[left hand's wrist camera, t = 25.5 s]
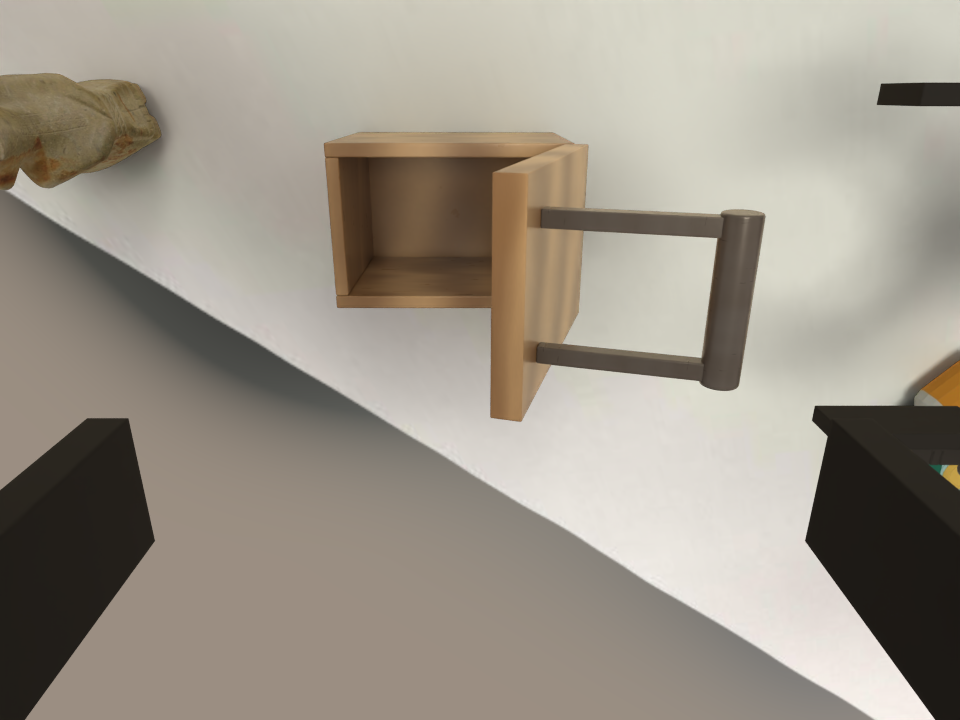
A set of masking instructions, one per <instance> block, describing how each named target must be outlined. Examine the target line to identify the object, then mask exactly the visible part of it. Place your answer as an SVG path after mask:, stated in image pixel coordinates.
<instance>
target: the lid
mask: <svg viewBox="0 0 960 720" xmlns="http://www.w3.org/2000/svg"><path fill="white" fill-rule="evenodd" d="M587 161H588V145H587V144H565V145H562V146H559V147H557V148H554V149H552V150H549V151H547V152H544V153H542V154H539V155H536V156H534V157H531V158H529V159H526V160H524V161H521V162H518V163H516V164H513V165H511V166H508V167H506V168H503V169H501V170H498V171H495V172H493V173H492V281H491V409H490V417H491V418H496V419H504V420H511V421H519V422H521V421H522V419H523V417H524V415H525V414H526V412H527V410H528V408H529V406H530V404H531V402H532V400H533V398H534V396H535V395H536V393H537V391H538V389H539V387H540V385H541V383H542V381H543V379H544V377H545V375H546V374H547V372H548V370H549V368H550V366H551V365H558V366H567V367H576V368H586V369H595V370H604V371H613V372H622V373H631V374H641V375H650V376H659V377H668V378H677V379H686V380H695V381H699V382H700V384H701V385H703V386H705V387H707V388H710V389H713V390H719V391H730V390H734V389H736V388H737V387H738V386H739V382H740V375H741V369H742V363H743V356H744V350H745V344H746V337H747V331H748V325H749V318H750V312H751V306H752V299H753V293H754V287H755V280H756V274H757V267H758V261H759V255H760V248H761V242H762V236H763V229H764V223H765V214H764V213H762V212H758V211H753V210H740V209H734V210H725V211H722V212H721V214H700V213H678V212H657V211H635V210H613V209H592V208H585V195H586V178H587ZM583 231H599V232H617V233H636V234H654V235H672V236H690V237H708V238H717V245H716V253H715V261H714V268H713V276H712V283H711V291H710V298H709V306H708V313H707V321H706V328H705V336H704V343H703V351H702V358H696V357H686V356H676V355H666V354H656V353H646V352H636V351H626V350H616V349H606V348H596V347H586V346H577V345H567V344H562V343H563V341H564V339H565V337H566V335H567V333H568V332H569V330H570V328H571V326H572V324H573V322H574V320H575V318H576V316H577V314H578V313H579V298H580V281H581V264H582V246H583Z"/></svg>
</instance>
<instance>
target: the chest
mask: <svg viewBox="0 0 960 720" xmlns="http://www.w3.org/2000/svg"><path fill="white" fill-rule="evenodd" d="M565 144H574V143H572V142H570V141H568V140H566V139H564V138H562V137H561V136H559V135H557V134H555V133H492V132H358V133H355V134H352V135H349V136H345V137H342V138H339V139H336V140H333V141H330V142H327V143H324V152H325V157H326V158H325V163H326V176H327V188H328V200H329V213H330V225H331V237H332V250H333V262H334V274H335V287H336V295H337V296H336V300H337V307H338V308H491V281H492V173H493V172H495V171H498V170H501V169H503V168H506V167H508V166H511V165H513V164H516V163H518V162H521V161H524V160H526V159H529V158H531V157H534V156H536V155H539V154H542V153H544V152H547V151H549V150H552V149H554V148H557V147H559V146H562V145H565Z"/></svg>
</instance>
